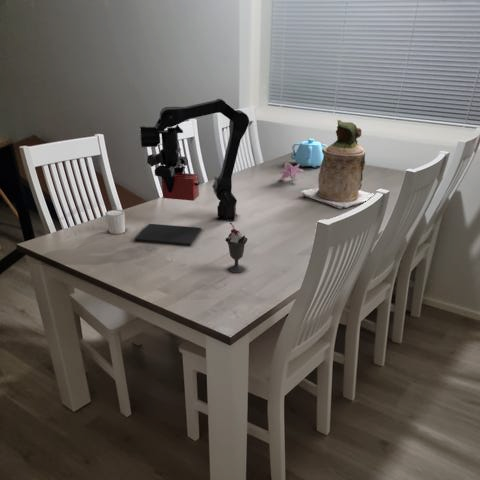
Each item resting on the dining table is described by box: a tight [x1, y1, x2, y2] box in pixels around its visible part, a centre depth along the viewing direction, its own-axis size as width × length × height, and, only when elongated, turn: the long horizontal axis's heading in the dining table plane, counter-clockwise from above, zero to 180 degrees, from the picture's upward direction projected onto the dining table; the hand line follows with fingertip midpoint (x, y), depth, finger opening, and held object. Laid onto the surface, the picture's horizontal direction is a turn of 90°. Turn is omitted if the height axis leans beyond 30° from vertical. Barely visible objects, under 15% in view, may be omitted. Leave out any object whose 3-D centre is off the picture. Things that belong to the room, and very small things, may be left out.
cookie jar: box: [300, 119, 375, 210], centre depth 203 cm, size 25×25×32 cm
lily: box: [277, 162, 305, 184], centre depth 229 cm, size 12×12×10 cm
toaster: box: [161, 172, 200, 202], centre depth 177 cm, size 13×6×8 cm, turn 77°
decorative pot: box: [290, 138, 328, 168], centre depth 255 cm, size 16×16×14 cm
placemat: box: [134, 223, 202, 247], centre depth 172 cm, size 20×15×1 cm
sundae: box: [225, 222, 248, 274], centre depth 145 cm, size 7×7×15 cm
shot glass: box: [105, 209, 126, 235], centre depth 174 cm, size 7×7×7 cm
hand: (173, 189), depth 178 cm, fingers closed on toaster, 6 cm apart
